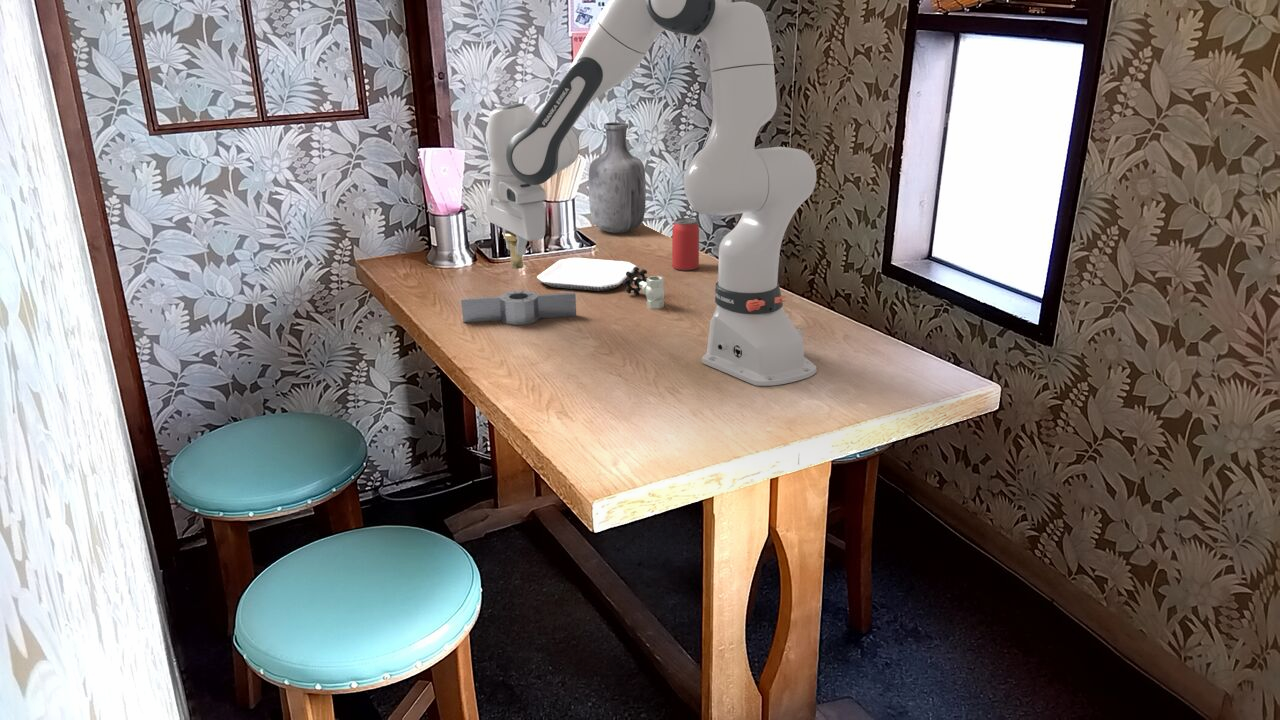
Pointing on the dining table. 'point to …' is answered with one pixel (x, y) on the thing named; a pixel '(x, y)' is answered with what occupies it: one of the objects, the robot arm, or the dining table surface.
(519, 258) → the hinge pin
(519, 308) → the hinge
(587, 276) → the plate
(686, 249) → the beer can
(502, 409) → the dining table surface
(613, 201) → the vase
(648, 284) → the valve
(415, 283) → the dining table surface
